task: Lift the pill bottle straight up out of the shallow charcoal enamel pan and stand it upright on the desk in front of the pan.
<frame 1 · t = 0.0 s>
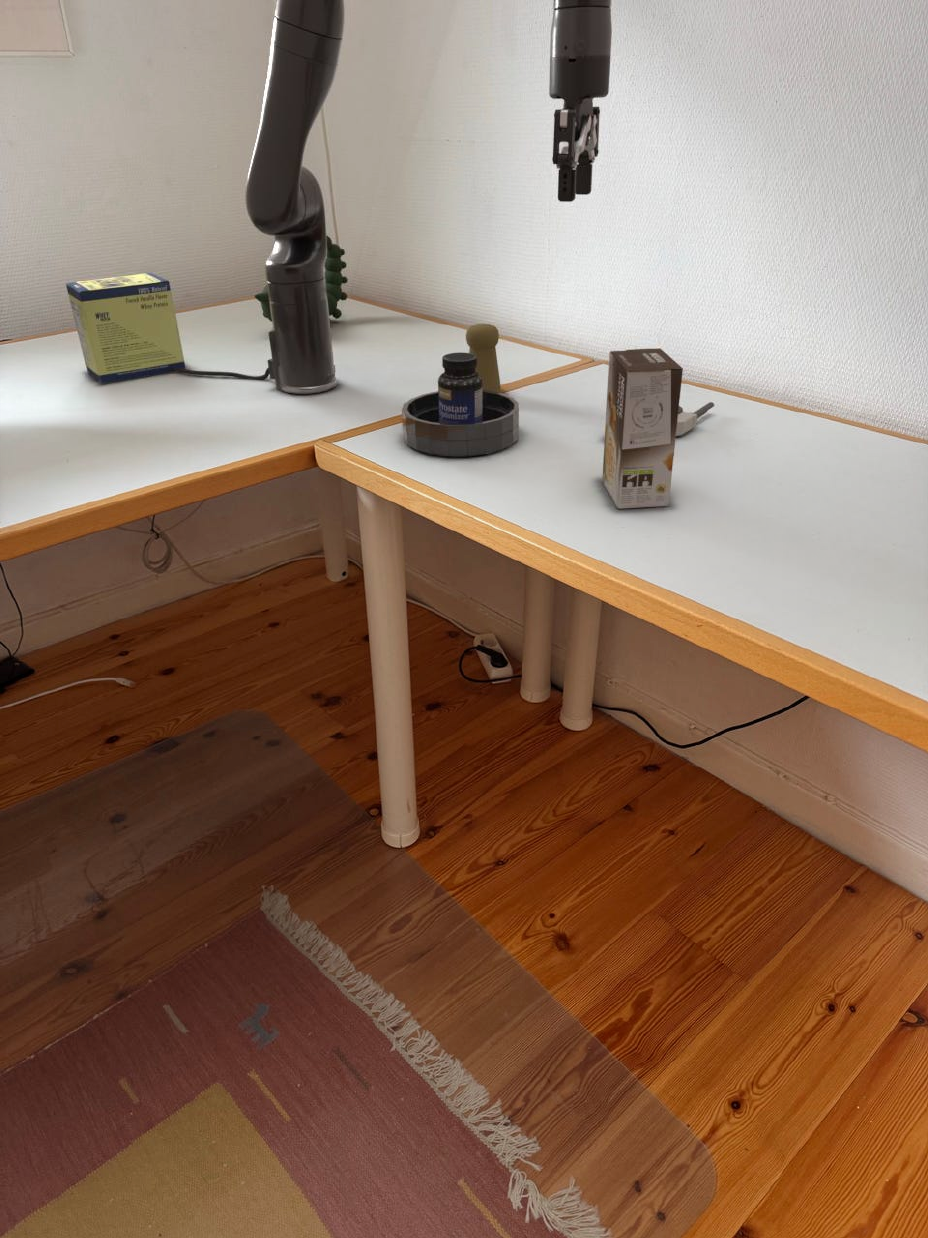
hand: (574, 197, 115), 29 cm above the table, tool pointing down, fingers open, 8 cm apart
walkie-talkie: (660, 429, 122), on the table
olive brown knobbed cylinder: (483, 395, 138), on the table
pill bottle: (461, 436, 121), resting on pan
pan: (461, 437, 121), on the table
coffee box: (633, 494, 103), on the table
protein box: (137, 371, 156), on the table
toy figurine: (306, 330, 181), on the table
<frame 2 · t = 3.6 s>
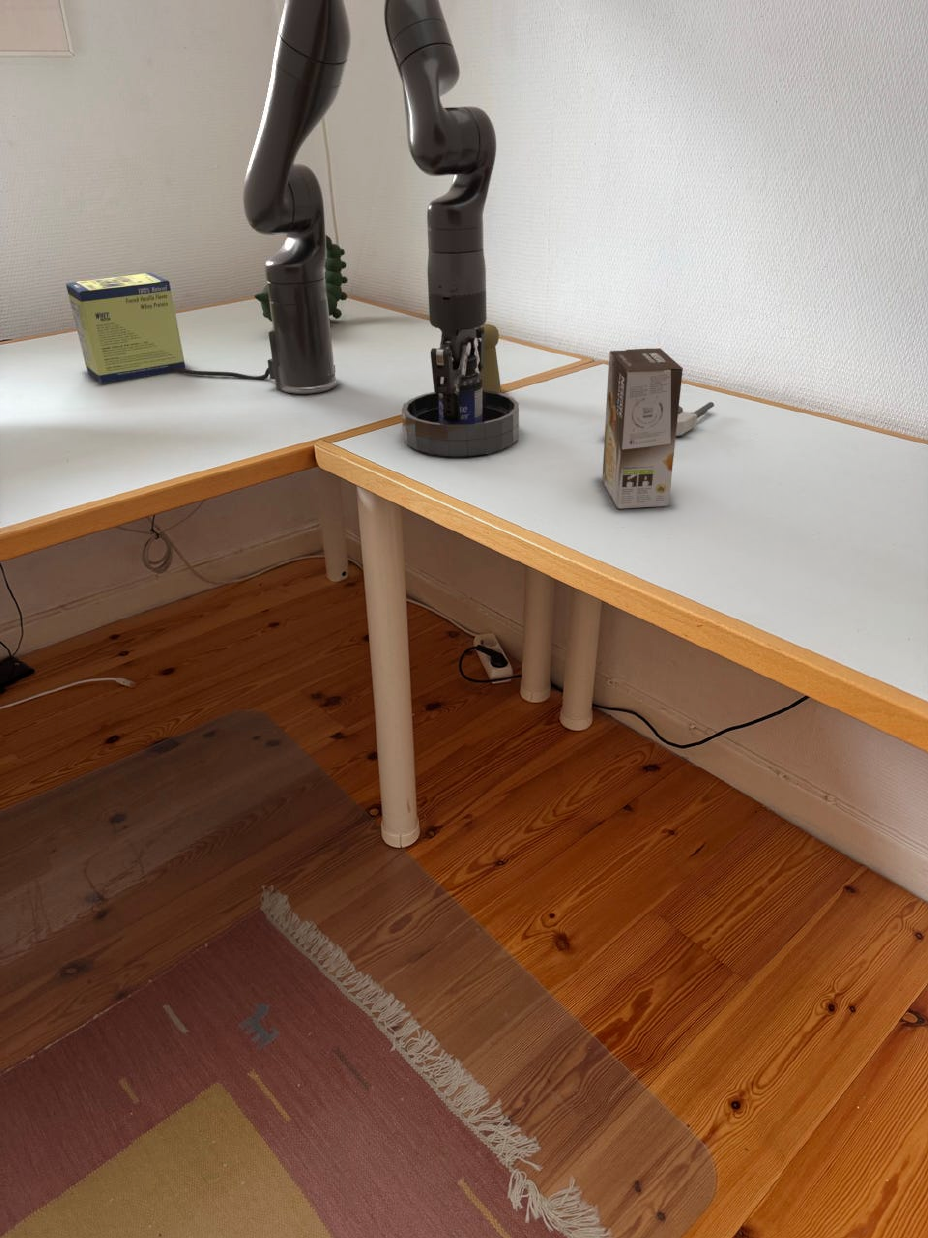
hand: (460, 412, 119), 4 cm above the table, tool pointing down, fingers closed on pill bottle, 6 cm apart
pill bottle: (461, 436, 121), resting on pan, touching gripper
everything else where it was.
when the fingers open (3 cm above the table, at t = 11.6 s): pill bottle stays where it is, on the table.
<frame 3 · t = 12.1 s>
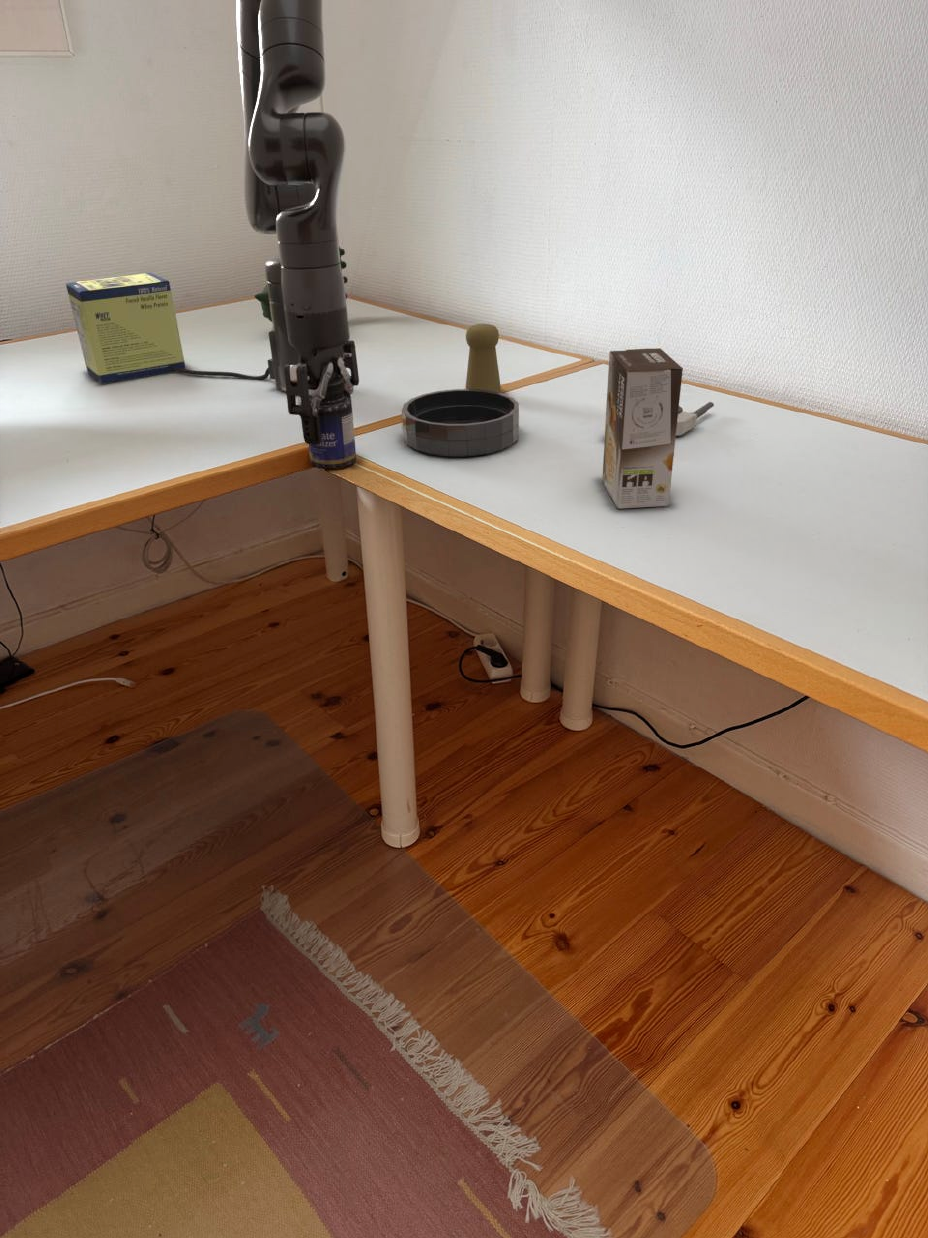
hand: (329, 432, 112), 4 cm above the table, tool pointing down, fingers open, 8 cm apart
pill bottle: (334, 463, 114), on the table
everything else where it was.
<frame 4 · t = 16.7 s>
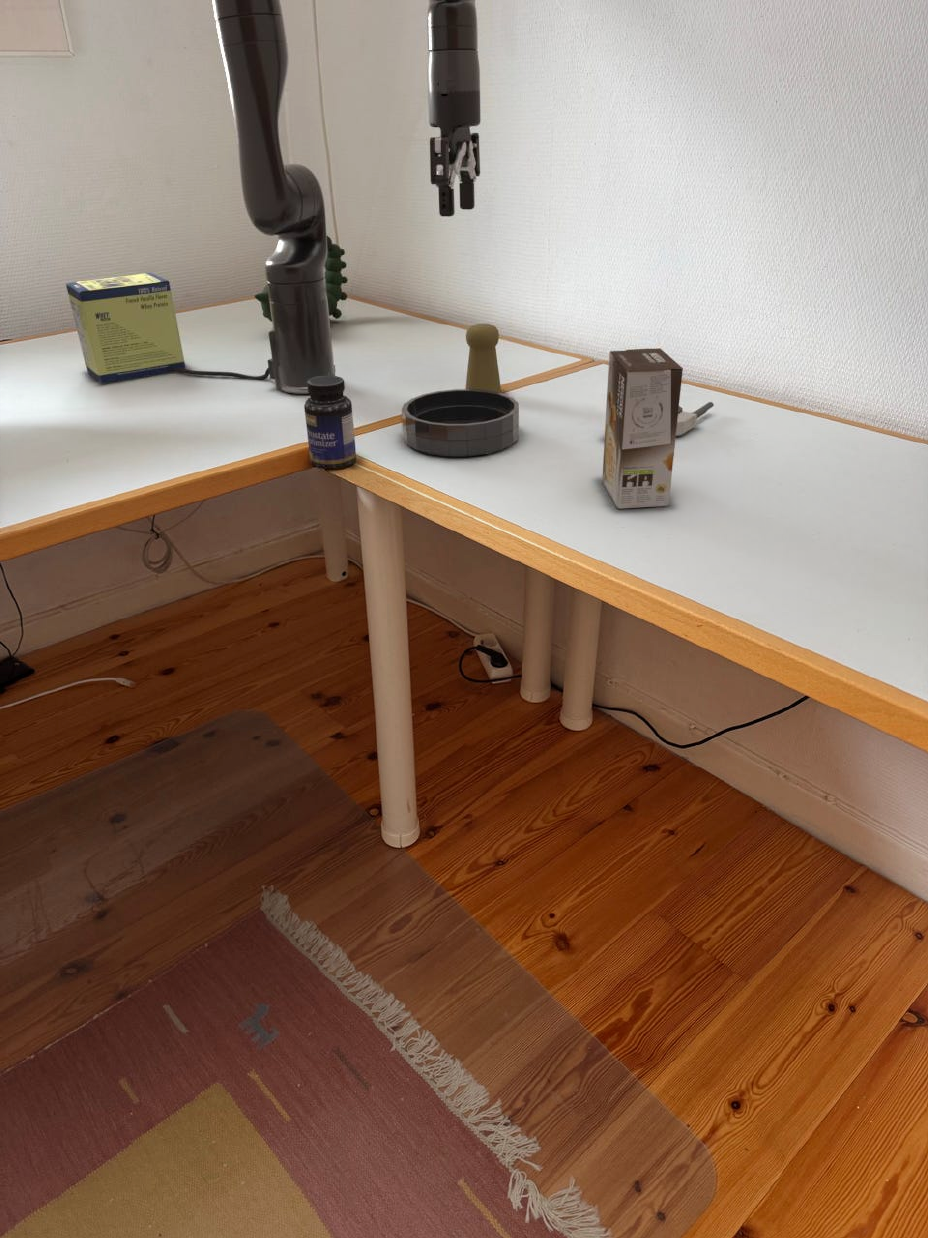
hand: (457, 212, 131), 26 cm above the table, tool pointing down, fingers open, 8 cm apart
nothing on the table moved.
at the end: pill bottle inside the target area (0.1 cm from its centre), on the table; pill bottle tilted 0°; pill bottle touching table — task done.
